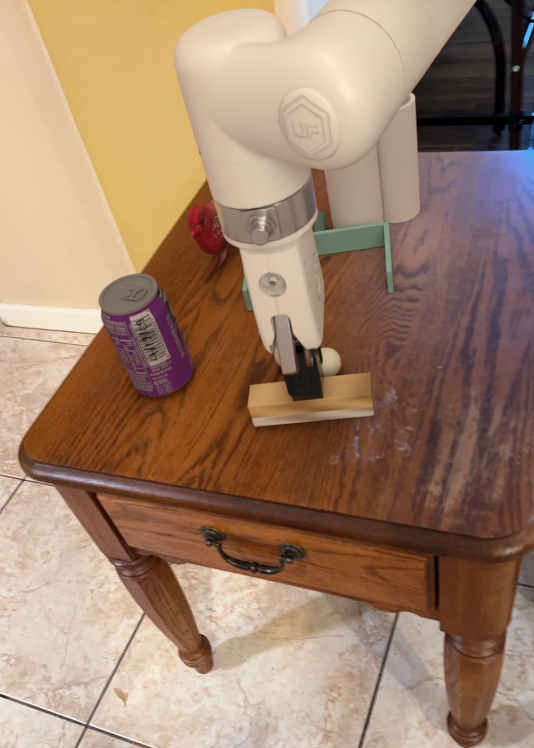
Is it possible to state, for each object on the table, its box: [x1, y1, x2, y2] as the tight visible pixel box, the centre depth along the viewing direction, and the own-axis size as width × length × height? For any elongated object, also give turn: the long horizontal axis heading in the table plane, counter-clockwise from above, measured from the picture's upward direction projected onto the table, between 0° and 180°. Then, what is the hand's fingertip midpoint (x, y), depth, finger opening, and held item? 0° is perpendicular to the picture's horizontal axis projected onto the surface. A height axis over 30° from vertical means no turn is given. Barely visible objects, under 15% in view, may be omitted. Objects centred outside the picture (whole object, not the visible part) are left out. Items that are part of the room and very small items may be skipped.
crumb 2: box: [321, 347, 342, 377], centre depth 73 cm, size 3×3×3 cm
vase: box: [323, 92, 421, 229], centre depth 83 cm, size 11×7×20 cm, turn 115°
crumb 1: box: [273, 346, 281, 368], centre depth 75 cm, size 3×3×3 cm
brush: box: [247, 346, 375, 428], centre depth 66 cm, size 12×3×10 cm, turn 86°
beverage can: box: [97, 273, 195, 398], centre depth 75 cm, size 7×7×12 cm
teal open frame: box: [241, 210, 395, 312], centre depth 85 cm, size 17×16×3 cm
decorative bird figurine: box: [187, 199, 230, 270], centre depth 89 cm, size 3×18×10 cm, turn 166°
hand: (306, 377), depth 67 cm, fingers closed on brush, 3 cm apart
